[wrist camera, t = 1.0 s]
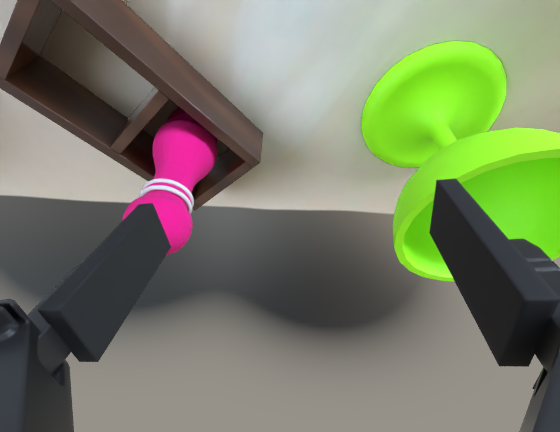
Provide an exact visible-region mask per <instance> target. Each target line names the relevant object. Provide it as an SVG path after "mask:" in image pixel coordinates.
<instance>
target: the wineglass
mask: <svg viewBox="0 0 560 432" xmlns="http://www.w3.org/2000/svg"><path fill="white" fill-rule="evenodd" d="M506 82H507V77H506V74H505V71H504V68H503V65H502V62H501V61H500V60H499V59H498V57H497V56H496V55H495V54H494V53H493V52H492V51H491V50H490V49H488V48H485V47H483V46H481V45H479V44H476V43H474V42H463V41H449V42H444V43H439V44H434V45H430V46H428V47H425V48H423V49H421V50H419V51H417V52H414V53H412V54H410V55H408V56H407V57H405V58H404V59H403V60H401V61H400V62H399V63H397V64H396V65H395V66H393V67H392V68H390V69H389V71H388V72H387V73H386V74H385V75H384V76H383V77H382V78H381V79H380V80H379V82H378V83H377V84H376V85H375V87H374V89H373V90H372V92H371V94H370V95H369V97H368V99H367V101H366V104H365V107H364V111H363V114H362V135H363V137H364V140H365V143H366V145H367V147H368V148H369V149H370V150H371V152H372V153H373V154H374V155H375V156H376V157H378V158H379V159H381V160H383V161H384V162H386V163H388V164H392V165H395V166H398V167H409V168H418V167H419V169H418V170H417V171H416V172H415V173H414V174H413V176H412V177H411V178H410V179H409V180H408V182H407V183H406V184H405V186H404V188H403V190H402V192H401V194H400V196H399V198H398V201H397V205H396V209H395V213H394V219H393V229H392V230H393V239H394V248H395V252H396V254H397V257H398V259H399V261H400V262H401V263H402V264H403V265H404V266H405V267H406V268H407V269H408V270H409V271H411V272H413V273H416V274H418V275H420V276H422V277H426V278H430V279H435V280H440V281H454V279H453V277H452V275H451V273H450V271H449V269H448V267H447V265H446V264H445V262H444V260H443V258H442V256H441V254H440V252H439V250H438V248H437V246H436V244H435V243H434V241H433V239H432V237H431V235H430V233H429V232H430V224H431V217H432V210H433V202H434V195H435V188H436V180H443V179H457V180H458V181H459V183H460V184H461V185H462V186H463V187H464V188H465V189H466V191H467V192H468V193H469V194H470V195H471V196H472V198H473V199H474V200H475V201H476V202H477V203H478V204H479V206H480V207H481V208H482V209H483V210H484V211H485V213H486V214H487V215H488V216H489V217H490V218H491V219H492V221H493V222H494V223H495V224H496V225H497V226H498V227H499V229H500V230H501V231H502V232H503V233H504V234H505V236H506V237H507V238H508V239H525V240H527V241H529V242H531V243H532V244H534V245H536V246H538V247H539V248H541V249H542V250H543V251H544V252H545V254H546V255H547V256H548V257H549V258H550V259H551V261H552V260H554V259H556V258H559V257H560V133H555V132H551V131H547V130H542V129H530V128H511V129H503V130H496V131H490V132H487V131H488V130H489V129H490V127H491V126H492V124H493V122H494V121H495V119H496V118H497V116H498V115H499V113H500V111H501V108H502V105H503V102H504V99H505V97H506Z"/></svg>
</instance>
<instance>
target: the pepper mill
mask: <svg viewBox="0 0 560 432" xmlns="http://www.w3.org/2000/svg"><path fill="white" fill-rule="evenodd" d="M217 139H218V138H216V137H215V136H214V135H213V134H212V133H210V132H209V131H208V130H207V129H206V128H204V127H203V126H202V125H201V124H200V123H198V122H197V121H196V120H195V119H193V118H192V117H191V116H190V115H189V114H187V113H186V112H185V111H184V110H183V109H181V108H178V109H176V110H175V111H174V112H173V113H172V114H171V115H170V117H169V119H168V121H167V123H165V124H163V125H162V126H161V127H160V128H159V129H158V131H157V133H156V135H155V138H154V141H153V159H154V164H155V170H156V172H155V176H154V179H153V180H151V181H149V182H147V183H146V184H145V185H144V186H143V188H142V191H141V193H140V195H139V198H137V199H136V200H134V201H133V202H131V203H130V205H129V206H128V208H127V209H126V211H125V213H124V216H123V220H124V219H125V218H126V217H127V216H128V215H129V214H130V213H131V212H132V211H133V210H134V209H135V208H136V207H137V205H138V204H146V203H153V204H154V207H155V209H156V212H157V214H158V216H159V219H160V221H161V224H162V226H163V228H164V231H165V233H166V236H167V238H168V240H169V243H170V245H171V248H170V250H169V251H168V253H167V254H166V255H169V254H172V253H174V252H176V251H178V250H180V249H181V248H182V247H183V246H184V245H185V244H186V242H187V241H188V239H189V237H190V235H191V231H192V219H191V215H190V214H191V212H192V208H193V205H194V198H193V196H192V190H193V187H194V186H195V184H196V183H197V182H199V181H200V180H201V179H203V178H204V177H205V176H206V175H207V174H208V173H209V172H210V171H211V169H212V168H213V166H214V164H215V162H216V159H217V155H218V149H217V144H216V143H217ZM123 220H122V221H123Z"/></svg>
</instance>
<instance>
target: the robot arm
mask: <svg viewBox="0 0 560 432" xmlns="http://www.w3.org/2000/svg"><path fill="white" fill-rule="evenodd" d="M429 233H430V235H431V237H432V239H433V241H434V243H435V244H436V246H437V248H438V250H439V252H440V254H441V256H442V258H443V260H444V262H445V264H446V265H447V267H448V269H449V271H450V273H451V275H452V277H453V279H454V281H455V283H456V285H457V286H458V288H459V290H460V292H461V294H462V296H463V298H464V300H465V302H466V304H467V306H468V307H469V309H470V311H471V313H472V315H473V317H474V319H475V321H476V323H477V325H478V327H479V329H480V330H481V332H482V334H483V336H484V338H485V340H486V342H487V344H488V346H489V348H490V350H491V351H492V353H493V355H494V357H495V359H496V361H497V363H498V364H499V366H529V364H530V362H531V360H532V358H533V356H534V354H535V355H536V356H537V358H538V359H539V361H540V362H541V364H542V365H543V369H542V371H541V373H540V375H539V377H538V379H537V381H536V383H535V385H534V387H533V389H535V390H534V393H533V395H532V398H531V401H530V404H529V407H528V409H527V412H526V415H525V417H524V420H523V423H522V426H521V429H520V431H519V432H560V268H559V267H558V266H557V265H556V264H555V263H554V262H553V261H551V259H550V258H549V257H548V256H547V255H546V254H545V252H544V251H543V250H542V249H541V248H539V247H538V246H536V245H534V244H532V243H531V242H529V241H527V240H525V239H508V238H507V237H506V236H505V234H504V233H503V232H502V231H501V230H500V229H499V227H498V226H497V225H496V224H495V223H494V222H493V221H492V219H491V218H490V217H489V216H488V215H487V214H486V213H485V211H484V210H483V209H482V208H481V207H480V206H479V204H478V203H477V202H476V201H475V200H474V199H473V198H472V196H471V195H470V194H469V193H468V192H467V191H466V189H465V188H464V187H463V186H462V185H461V184H460V183H459V181H458V180H457V179H443V180H436V188H435V195H434V202H433V210H432V217H431V224H430V232H429ZM170 248H171V245H170V243H169V240H168V238H167V236H166V233H165V231H164V228H163V226H162V224H161V221H160V219H159V216H158V214H157V212H156V209H155V207H154V204H153V203H146V204H138V205H137V207H136V208H135V209H134V210H133V211H132V212H131V213H130V214H129V215H128V216H127V217H126V218H125V219H124V220H123V221H122V222H121V223H120V224H119V226H117V227H116V228H115V229H114V230H113V232H112V233H111V234H110V235H109V236H108V237H107V238H106V239H105V240H104V241H103V242H102V243H101V244H100V245H99V246H98V247H97V248H96V249H95V250H94V251H93V252H92V253H91V254H90V255H89V257H88V258H87V259H86V260H85V261H84V262H82V263H81V264H80V265H78V266H77V267H75V268H74V269H72V270H71V271H70V272H69V273H68V274H67V275H66V276H65V277H64V278H63V281H61V282H59V283H58V284H57V285H56V286H55V289H53V290H52V291H51V292H50V293H49V294H48V295H47V296H46V297H45V298H44V299H43V300H42V301H41V302H40V303H39V304H38V305H37V306H36V307H35V308H34V309H33V310H32V311H31V312H30V313H29V314H28V315H26V313H25V312H24V311H23V310H22V309H21V308H20V306H19V305H18V304H17V303H16V302H15V301H14V300H12V299H5V300H0V432H74V426H73V412H72V397H71V382H70V367H69V365H68V363H67V361H66V360H65V359H66V358H67V356H68V355H69V354H70V352H72V353H73V354H74V356H75V357H76V358H77V359H78V360H79V362H85V361H86V362H98V361H99V359H100V358H101V356H102V355H103V353H104V352H105V350H106V348H107V347H108V345H109V344H110V342H111V341H112V339H113V338H114V336H115V334H116V333H117V331H118V330H119V328H120V327H121V325H122V323H123V322H124V320H125V319H126V317H127V316H128V314H129V312H130V311H131V309H132V307H133V306H134V305H135V303H136V301H137V300H138V298H139V297H140V295H141V294H142V292H143V290H144V289H145V287H146V286H147V284H148V283H149V281H150V280H151V278H152V276H153V275H154V273H155V272H156V270H157V269H158V267H159V265H160V264H161V262H162V261H163V259H164V258H165V256H166V254H167V253H168V251H169V250H170Z"/></svg>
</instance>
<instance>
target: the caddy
mask: <svg viewBox="0 0 560 432" xmlns="http://www.w3.org/2000/svg"><path fill="white" fill-rule="evenodd" d="M62 10H63V11H64V12H65V13H67V14H68V15H69V16H70V17H71V18H73V19H74V20H75V21H76V22H77V23H79V24H80V25H81V26H82V27H83V28H85V29H86V30H87V31H88V32H89V33H91V34H92V35H93V36H94V37H96V38H97V39H98V40H99V41H100V42H102V43H103V44H104V45H105V46H106V47H108V48H109V49H110V50H111V51H112V52H114V53H115V54H116V55H117V56H119V57H120V58H121V59H122V60H123V61H125V62H126V63H127V64H128V65H129V66H131V67H132V68H133V69H134V70H135V71H137V72H138V73H139V74H140V75H141V76H143V77H144V78H145V79H146V80H148V81H149V82H150V83H151V84H152V85H154V86H155V88H154V89H153V90H152V91H151V93H150V94H149V95H148V96H147V97H146V99H145V100H144V101H143V102H142V103H141V105H140V106H139V107H138V108H137V109H136V111H135V112H134V113H133V114H132V115H131V117H130V118H129V119H127V118H126V117H124V116H123V115H122V114H120V113H119V112H117V111H116V110H115V109H113V108H112V107H111V106H109V105H108V104H106V103H105V102H104V101H102V100H101V99H99V98H98V97H97V96H95V95H94V94H93V93H91V92H90V91H88V90H87V89H86V88H84V87H83V86H82V85H80V84H79V83H77V82H76V81H75V80H73V79H72V78H70V77H69V76H68V75H66V74H65V73H64V72H62V71H61V70H59V69H58V68H57V67H55V66H54V65H52V64H51V63H50V62H48V61H47V60H46V59H44V58H43V57H41V56H40V53H41V51H42V49H43V47H44V45H45V43H46V41H47V39H48V37H49V35H50V33H51V31H52V29H53V27H54V25H55V23H56V21H57V19H58V17H59V15H60V13H61V11H62ZM0 88H1V89H2V90H4V91H6V92H7V93H9V94H10V95H12V96H14V97H15V98H17V99H18V100H20V101H22V102H23V103H25V104H26V105H28V106H29V107H31V108H33V109H34V110H36V111H37V112H39V113H41V114H42V115H44V116H45V117H47V118H49V119H50V120H52V121H53V122H55V123H57V124H58V125H60V126H61V127H63V128H64V129H66V130H68V131H69V132H71V133H72V134H74V135H76V136H77V137H79V138H80V139H82V140H84V141H85V142H87V143H88V144H90V145H91V146H93V147H95V148H96V149H98V150H99V151H101V152H103V153H104V154H106V155H107V156H109V157H111V158H112V159H114V160H115V161H117V162H118V163H120V164H122V165H123V166H125V167H126V168H128V169H130V170H131V171H133V172H134V173H136V174H138V175H139V176H141V177H142V178H144V179H145V180H147V181H151V180H153V179H154V176H155V172H156V170H155V164H154V159H153V141H154V138H153V137H152V136H151V135H149V134H148V133H147V132H145V131H144V130H142V129H143V128H144V127H145V126H146V125H147V124H148V123H149V121H150V120H151V119H152V118H153V117H154V116H155V115H156V114H157V113H158V111H159V110H160V109H161V108H162V107H163V106H164V105H165V104H166V102H167V101H168V100H169V99H171V100H172V101H173V102H174V103H175V104H177V105H178V106H179V107H180V108H181V109H183V110H184V111H185V112H186V113H187V114H189V115H190V116H191V117H192V118H193V119H195V120H196V121H197V122H198V123H200V124H201V125H202V126H203V127H204V128H206V129H207V130H208V131H209V132H210V133H212V134H213V135H214V136H215V137H216V138H218V139H219V140H220V141H221V142H223V143H224V144H225V145H226V146H227V147H229V148H230V149H229V150H228V151H227V152H225V153H224V154H223V155H222V156H221V157H219V158H218V159H217V160H216V162H215V164H214V166H213V168H212V169H211V171H210V172H209V173H208V174H207V175H206V176H205V177H204V178H203V179H201V180H200V181H199V182H197V183H196V184H195V186H194V187H193V190H192V196H193V198H194V205H193V208H192V209H193V210H196V209H197V208H199V207H200V206H202V205H203V204H204V203H206V202H207V201H208V200H210V199H211V198H212V197H214V196H215V195H217V194H218V193H219V192H221V191H222V190H223V189H225V188H226V187H227V186H229V185H230V184H231V183H233V182H234V181H236V180H237V179H238V178H240V177H241V176H242V175H244V174H245V173H246V172H248V171H249V170H251V169H252V168H253V167H255V166H256V165H257V164H259V163H260V159H261V148H262V138H263V132H261V131H260V130H259V129H258V128H257V127H256V126H255V125H254V124H253V123H252V122H251V121H250V120H249V119H248V118H247V117H245V116H244V115H243V114H242V113H241V112H240V111H239V110H238V109H237V108H236V107H235V106H234V105H233V104H232V103H231V102H229V101H228V100H227V99H226V98H225V97H224V96H223V95H222V94H221V93H220V92H219V91H218V90H217V89H216V88H215V87H213V86H212V85H211V84H210V83H209V82H208V81H207V80H206V79H205V78H204V77H203V76H202V75H201V74H200V73H198V72H197V71H196V70H195V69H194V68H193V67H192V66H191V65H190V64H189V63H188V62H187V61H186V60H185V59H184V58H182V57H181V56H180V55H179V54H178V53H177V52H176V51H175V50H174V49H173V48H172V47H171V46H170V45H169V44H168V43H166V42H165V41H164V40H163V39H162V38H161V37H160V36H159V35H158V34H157V33H156V32H155V31H154V30H153V29H152V28H150V27H149V26H148V25H147V24H146V23H145V22H144V21H143V20H142V19H141V18H140V17H139V16H138V15H137V14H136V13H134V12H133V11H132V10H131V9H130V8H129V7H128V6H127V5H126V4H125V3H124V2H123V1H122V0H17V3H16V5H15V8H14V10H13V13H12V15H11V18H10V21H9V23H8V26H7V28H6V31H5V33H4V36H3V38H2V41H1V43H0Z"/></svg>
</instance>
